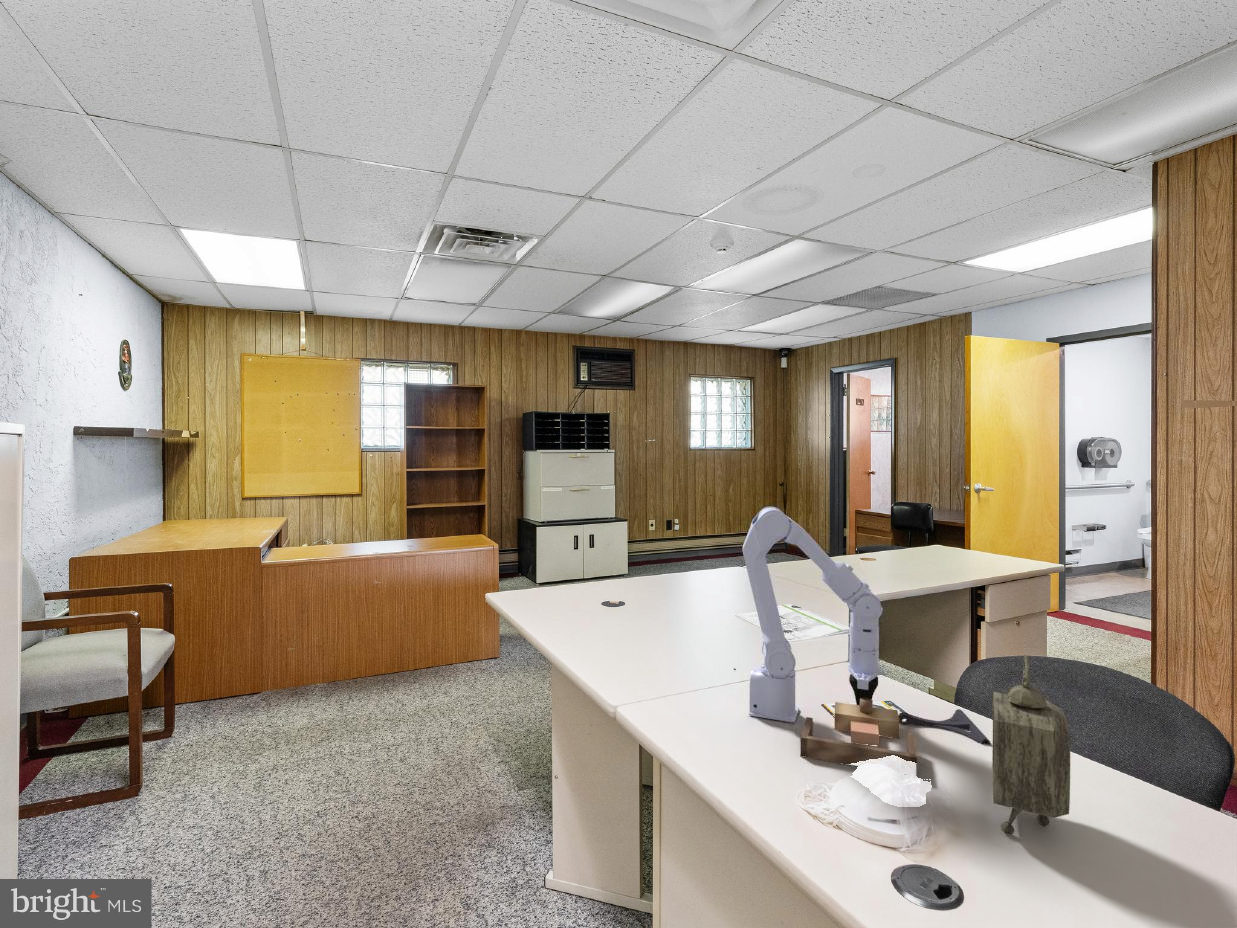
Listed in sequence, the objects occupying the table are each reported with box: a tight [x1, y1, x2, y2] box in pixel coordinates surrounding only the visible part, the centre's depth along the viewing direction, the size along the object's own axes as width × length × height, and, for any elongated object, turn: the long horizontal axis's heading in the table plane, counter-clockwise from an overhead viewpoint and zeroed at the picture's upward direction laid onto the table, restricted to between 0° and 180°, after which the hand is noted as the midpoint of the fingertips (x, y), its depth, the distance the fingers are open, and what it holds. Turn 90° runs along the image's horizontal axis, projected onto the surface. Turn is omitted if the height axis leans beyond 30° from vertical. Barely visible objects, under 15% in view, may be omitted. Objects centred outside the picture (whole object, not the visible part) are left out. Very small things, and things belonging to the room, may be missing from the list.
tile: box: [850, 720, 880, 747], centre depth 121 cm, size 5×5×2 cm
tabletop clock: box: [991, 654, 1071, 836], centre depth 94 cm, size 14×9×25 cm, turn 150°
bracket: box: [898, 708, 991, 746], centre depth 127 cm, size 14×15×3 cm
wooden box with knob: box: [833, 698, 900, 740], centre depth 126 cm, size 12×6×6 cm, turn 69°
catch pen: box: [799, 716, 918, 765], centre depth 115 cm, size 19×10×4 cm, turn 67°
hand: (863, 711), depth 130 cm, fingers closed
